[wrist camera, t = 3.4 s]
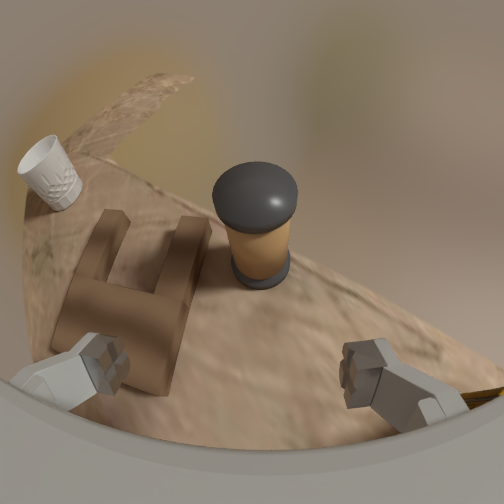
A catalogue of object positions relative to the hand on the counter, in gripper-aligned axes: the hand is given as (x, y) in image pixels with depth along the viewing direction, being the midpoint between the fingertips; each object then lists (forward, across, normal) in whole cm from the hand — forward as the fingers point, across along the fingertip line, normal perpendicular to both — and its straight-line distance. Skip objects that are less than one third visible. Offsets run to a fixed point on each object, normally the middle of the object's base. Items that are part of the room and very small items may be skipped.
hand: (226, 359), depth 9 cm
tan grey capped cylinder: (+19, 0, +3) cm, 19 cm away
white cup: (+28, +31, -6) cm, 42 cm away
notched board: (+16, +13, +5) cm, 22 cm away
